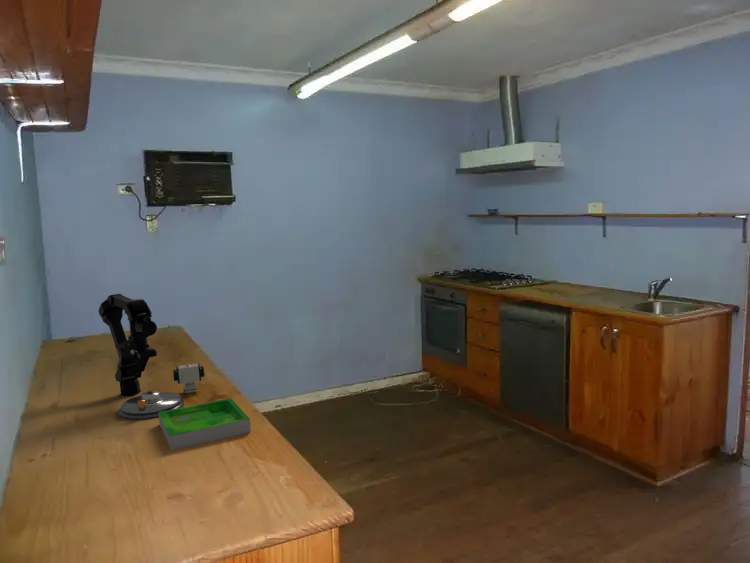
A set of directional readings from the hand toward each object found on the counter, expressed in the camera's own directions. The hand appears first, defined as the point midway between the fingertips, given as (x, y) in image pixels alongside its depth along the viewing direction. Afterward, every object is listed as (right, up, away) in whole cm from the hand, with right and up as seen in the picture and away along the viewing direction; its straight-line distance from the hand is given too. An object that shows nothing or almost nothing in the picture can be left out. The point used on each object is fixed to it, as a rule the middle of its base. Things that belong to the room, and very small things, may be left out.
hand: (142, 371), depth 221 cm
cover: (+7, -10, -9) cm, 15 cm away
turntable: (+7, -11, -8) cm, 16 cm away
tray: (+33, -15, -30) cm, 47 cm away
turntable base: (+7, -13, -8) cm, 16 cm away
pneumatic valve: (+16, -10, +10) cm, 21 cm away
